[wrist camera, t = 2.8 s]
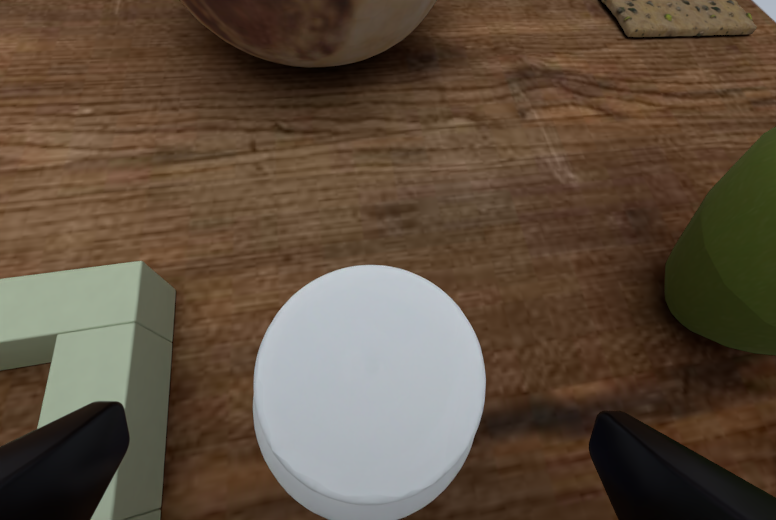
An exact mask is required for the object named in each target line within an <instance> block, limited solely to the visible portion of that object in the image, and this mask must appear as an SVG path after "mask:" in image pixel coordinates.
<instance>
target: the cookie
mask: <svg viewBox="0 0 776 520" xmlns="http://www.w3.org/2000/svg"><path fill="white" fill-rule="evenodd" d="M601 2H602V3H604V4H606V6H607V7H608V8H609V9H610V11H611V12H612V14H613V15H614V16H615V17H616V18H617V20H618V21H619V24H620V25H621V26H622V28H623V30H624V33H625V34H626V35H627V36H628V37H664V36H704V35H709V36H712V35H739V34H743V35H745V34H752V33H753V32H754V31H755V30H756V26H755V24H754V23H753V20H752V17H751V15H750V13H745V11H744V9H742V8H741V7H740V6H739V5H738V2H736V1H734V0H602V1H601Z"/></svg>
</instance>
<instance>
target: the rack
mask: <svg viewBox="0 0 776 520" xmlns="http://www.w3.org/2000/svg"><path fill="white" fill-rule="evenodd" d="M175 297H176V290H175V289H174V288H173V287H172V286H171V285H170V284H168V283H167V282H166V281H165V280H164V279H163V278H161V277H160V276H159V275H158V274H157V273H156V272H154V271H153V270H152V269H151V268H150V267H149V266H147V265H146V264H145V263H144V262H143V261H136V262H128V263H120V264H113V265H105V266H97V267H90V268H82V269H74V270H66V271H59V272H51V273H43V274H36V275H28V276H20V277H12V278H5V279H0V371H1V370H7V369H13V368H19V367H25V366H31V365H37V364H43V363H49V362H51V367H50V371H49V376H48V381H47V385H46V390H45V395H44V399H43V404H42V409H41V413H40V418H39V423H38V428H40V427H42V426H44V425H46V424H49V423H51V422H53V421H55V420H57V419H59V418H61V417H63V416H65V415H67V414H69V413H71V412H73V411H75V410H77V409H79V408H81V407H83V406H86V405H88V404H90V403H92V402H95V401H118V402H120V403H121V404H122V405H123V406H124V410H125V415H126V420H127V425H128V430H129V435H130V442H129V447H128V449H127V452H126V454H125V456H124V458H123V460H122V461H121V463H120V465H119V467H118V469H117V471H116V473H115V475H114V477H113V478H112V480H111V482H110V484H109V486H108V488H107V490H106V492H105V493H104V495H103V497H102V499H101V501H100V503H99V505H98V507H97V508H96V510H95V512H94V514H93V516H92V518H91V520H160V515H161V510H160V509H159V508H161V504H162V489H163V474H164V460H165V445H166V431H167V416H168V401H169V387H170V372H171V357H172V343H171V342H172V341H173V327H174V312H175ZM38 428H37V429H38Z"/></svg>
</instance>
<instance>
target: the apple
mask: <svg viewBox="0 0 776 520" xmlns="http://www.w3.org/2000/svg"><path fill="white" fill-rule="evenodd" d="M664 291H665V301H666V303H667V305H668V307H669V310H670V312H671V313H672V314H673V315H674V317H675V318H676V319H677V320H678V321H679V323H681V324H682V325H683V326H685V327H686V328H687V329H689V330H690V331H692V332H694V333H697V334H699V335H701V336H703V337H706V338H708V339H710V340H712V341H715V342H717V343H719V344H721V345H723V346H726V347H729V348H733V349H738V350H742V351H746V352H751V353H756V354H767V355H776V127H774V128H772V129H771V130H769V131H767V132H766V133H764V134H763V135H762V136H761V137H760V138H759V139H758V140H757V141H756V142H755V143H754V144H753V145H752V146H751V148H750V149H749V150H748V151H747V152H746V153H745V154H744V155H743V156H742V157H741V158H740V159H739V160H738V161H737V162H736V163H735V164H734V165H733V167H732V168H731V169H730V170H729V171H728V172H727V173H726V174H725V175H724V176H723V177H722V178H721V179H720V180H719V181H718V182H717V183H716V184H715V186H714V187H713V188H712V189H711V190H710V191H709V192H708V194H707V195H706V197H705V199H704V200H703V202H702V203H701V205H700V207H699V208H698V210H697V211H696V213H695V214H694V216H693V218H692V219H691V221H690V222H689V224H688V226H687V227H686V229H685V230H684V232H683V234H682V235H681V237H680V238H679V240H678V241H677V243H676V245H675V246H674V248H673V250H672V252H671V254H670V256H669V258H668V260H667V262H666V267H665V290H664Z"/></svg>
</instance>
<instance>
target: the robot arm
mask: <svg viewBox="0 0 776 520" xmlns="http://www.w3.org/2000/svg"><path fill="white" fill-rule="evenodd" d="M129 442H130V435H129V430H128V425H127V420H126V415H125V410H124V406H123V405H122V404H121V403H120V402H118V401H95V402H92V403H90V404H88V405H86V406H83V407H81V408H79V409H77V410H75V411H73V412H71V413H69V414H67V415H65V416H63V417H61V418H59V419H57V420H55V421H53V422H51V423H49V424H46V425H44V426H42V427H40V428H38V429H36V430H34V431H32V432H30V433H28V434H26V435H24V436H22V437H20V438H18V439H16V440H14V441H11V442H9V443H7V444H5V445H3V446H1V447H0V520H91V518H92V516H93V514H94V512H95V510H96V508H97V507H98V505H99V503H100V501H101V499H102V497H103V495H104V493H105V492H106V490H107V488H108V486H109V484H110V482H111V480H112V478H113V477H114V475H115V473H116V471H117V469H118V467H119V465H120V463H121V461H122V460H123V458H124V456H125V454H126V452H127V449H128V447H129ZM589 452H590V456H591V459H592V461H593V463H594V465H595V468H596V470H597V472H598V474H599V477H600V479H601V481H602V483H603V486H604V488H605V490H606V492H607V495H608V497H609V499H610V502H611V504H612V506H613V508H614V511H615V513H616V515H617V517H618V520H776V498H775V497H773V496H772V495H770V494H768V493H766V492H765V491H763V490H761V489H759V488H758V487H756V486H754V485H752V484H750V483H749V482H747V481H745V480H743V479H742V478H740V477H738V476H736V475H735V474H733V473H731V472H729V471H727V470H726V469H724V468H722V467H720V466H719V465H717V464H715V463H713V462H712V461H710V460H708V459H706V458H704V457H703V456H701V455H699V454H697V453H696V452H694V451H692V450H690V449H689V448H687V447H685V446H683V445H681V444H680V443H678V442H676V441H674V440H673V439H671V438H669V437H667V436H666V435H664V434H662V433H660V432H658V431H657V430H655V429H653V428H651V427H650V426H648V425H646V424H644V423H643V422H641V421H639V420H637V419H635V418H634V417H632V416H630V415H628V414H627V413H625V412H622V411H601V412H600V413H599V414H598V415H597V417H596V421H595V424H594V428H593V431H592V435H591V438H590V441H589Z"/></svg>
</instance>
